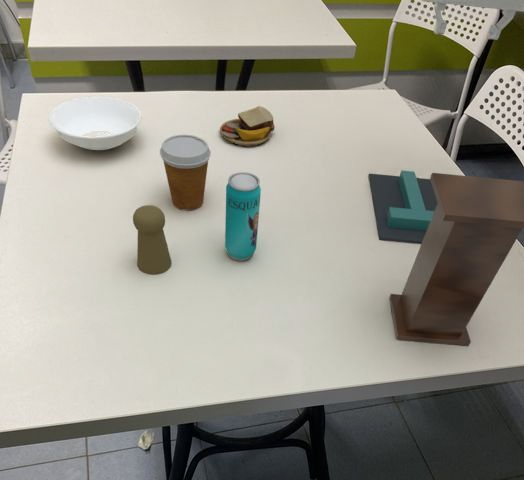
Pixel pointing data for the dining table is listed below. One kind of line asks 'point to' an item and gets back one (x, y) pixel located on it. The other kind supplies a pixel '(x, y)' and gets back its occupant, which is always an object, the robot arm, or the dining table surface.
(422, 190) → the mat
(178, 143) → the disposable coffee cup
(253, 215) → the beverage can
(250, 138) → the toy sandwich meal
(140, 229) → the olive pawn
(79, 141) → the bowl
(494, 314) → the dining table surface
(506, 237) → the stand
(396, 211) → the letter T
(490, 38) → the robot arm
